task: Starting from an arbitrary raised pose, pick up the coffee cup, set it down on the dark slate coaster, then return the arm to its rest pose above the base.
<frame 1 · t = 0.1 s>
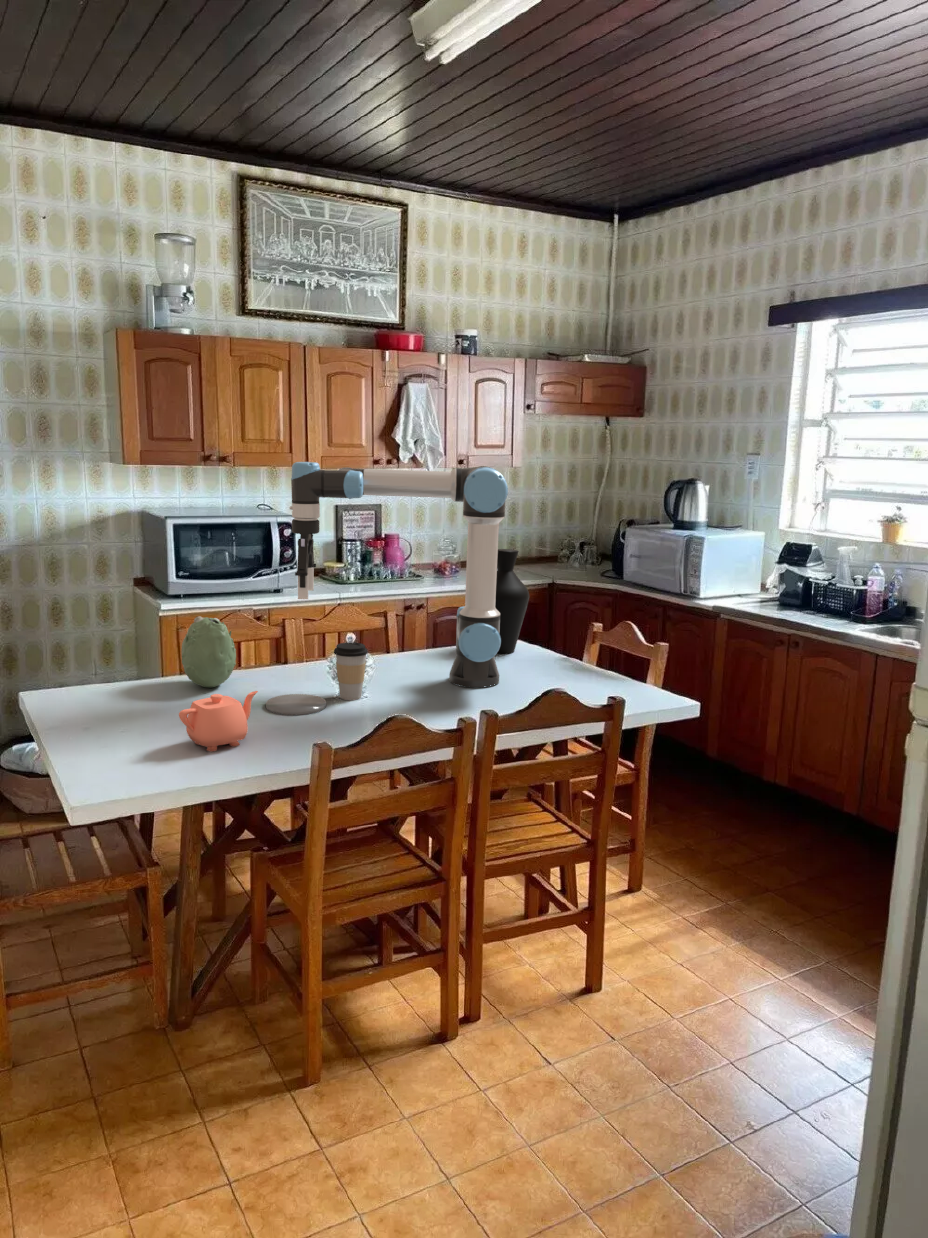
hand: (306, 594, 257), 28 cm above the table, fingers open, 13 cm apart
teapot: (220, 743, 218), on the table
green bumpy egg shape: (209, 686, 264), on the table
vase: (501, 651, 317), on the table
coffee cup: (350, 698, 258), on the table
coaster: (296, 706, 248), on the table
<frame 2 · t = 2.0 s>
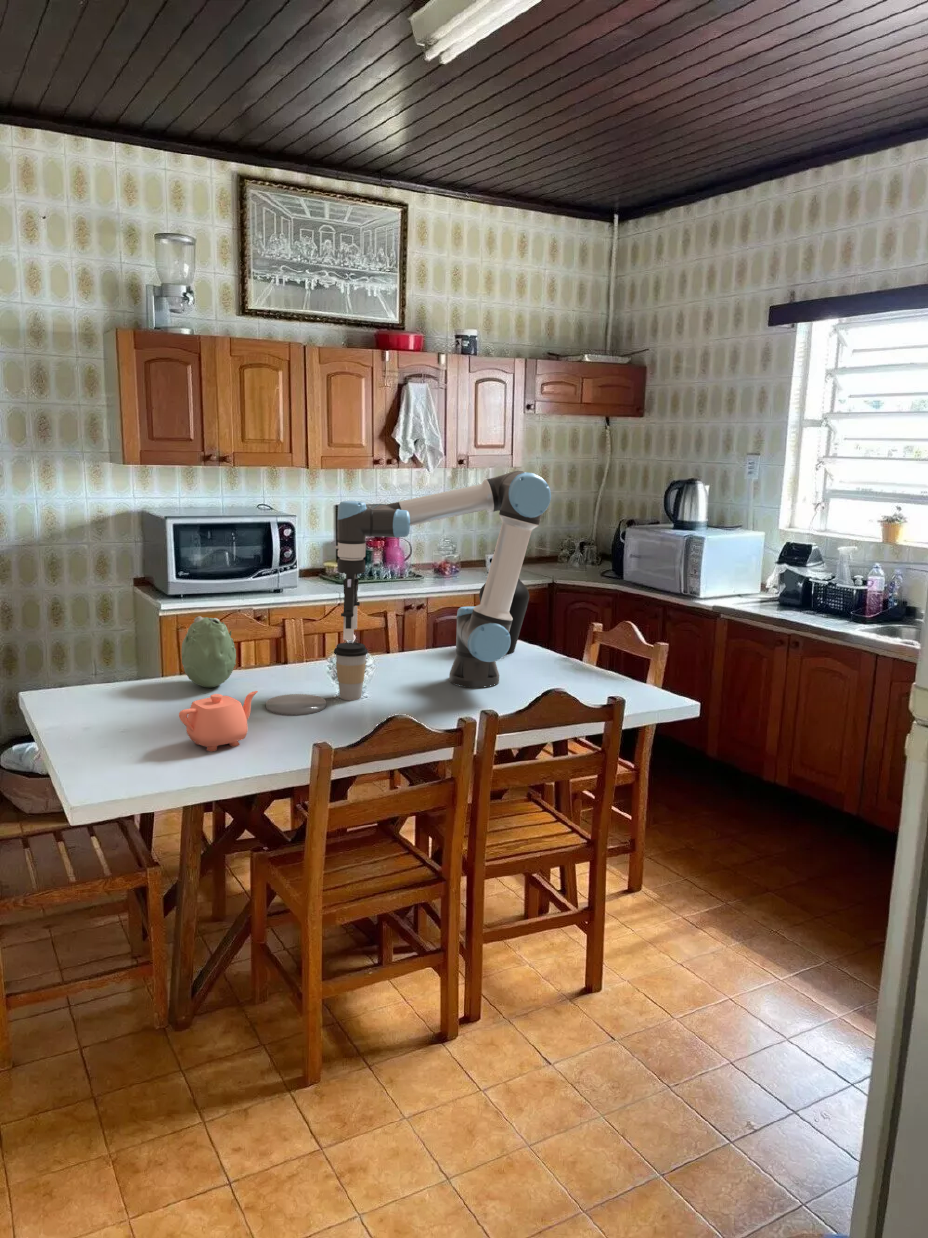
hand: (350, 634, 254), 18 cm above the table, fingers open, 13 cm apart
nothing on the table moved.
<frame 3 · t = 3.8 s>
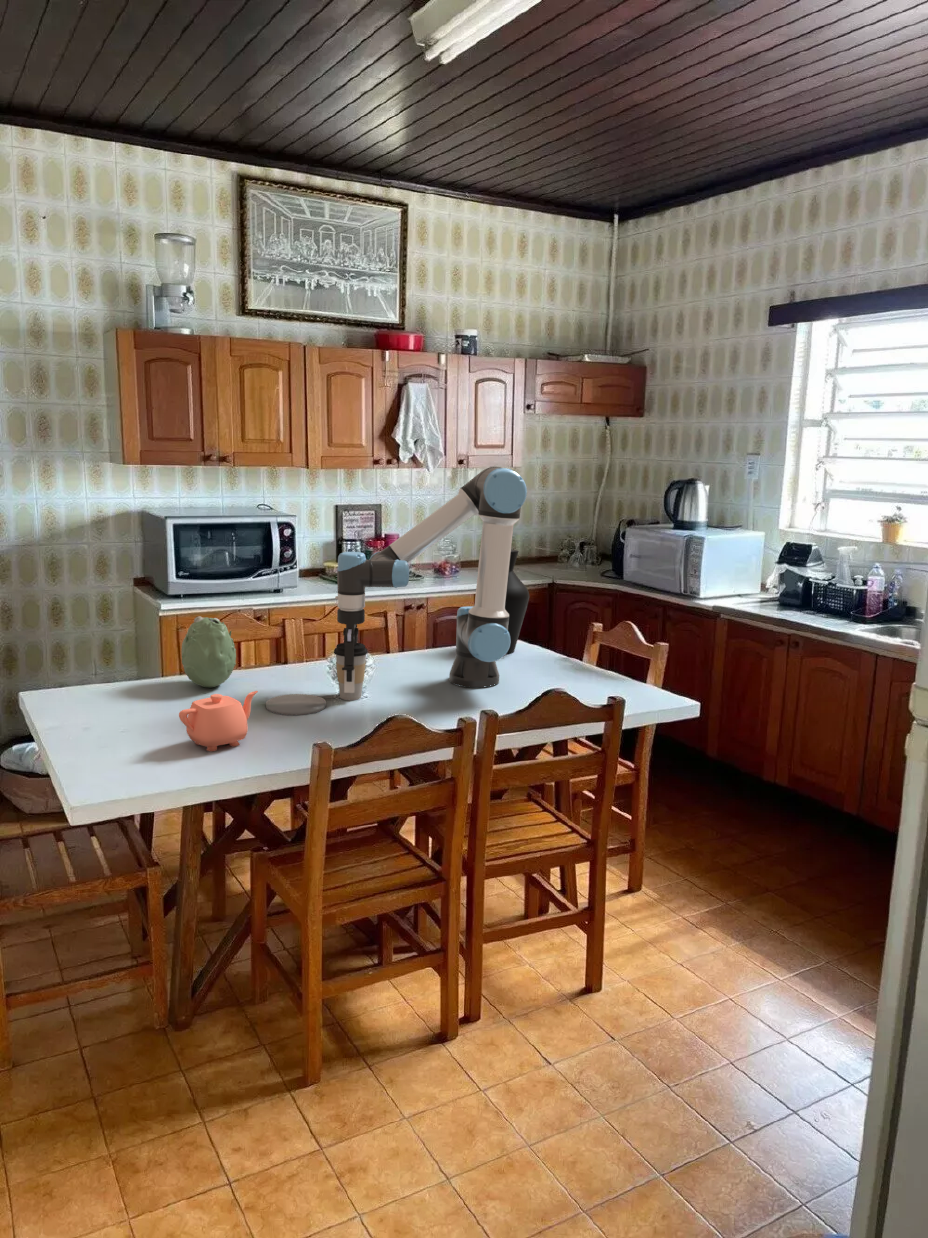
hand: (350, 687, 257), 3 cm above the table, fingers closed on coffee cup, 8 cm apart
coffee cup: (350, 698, 258), on the table, touching gripper
everything else where it was.
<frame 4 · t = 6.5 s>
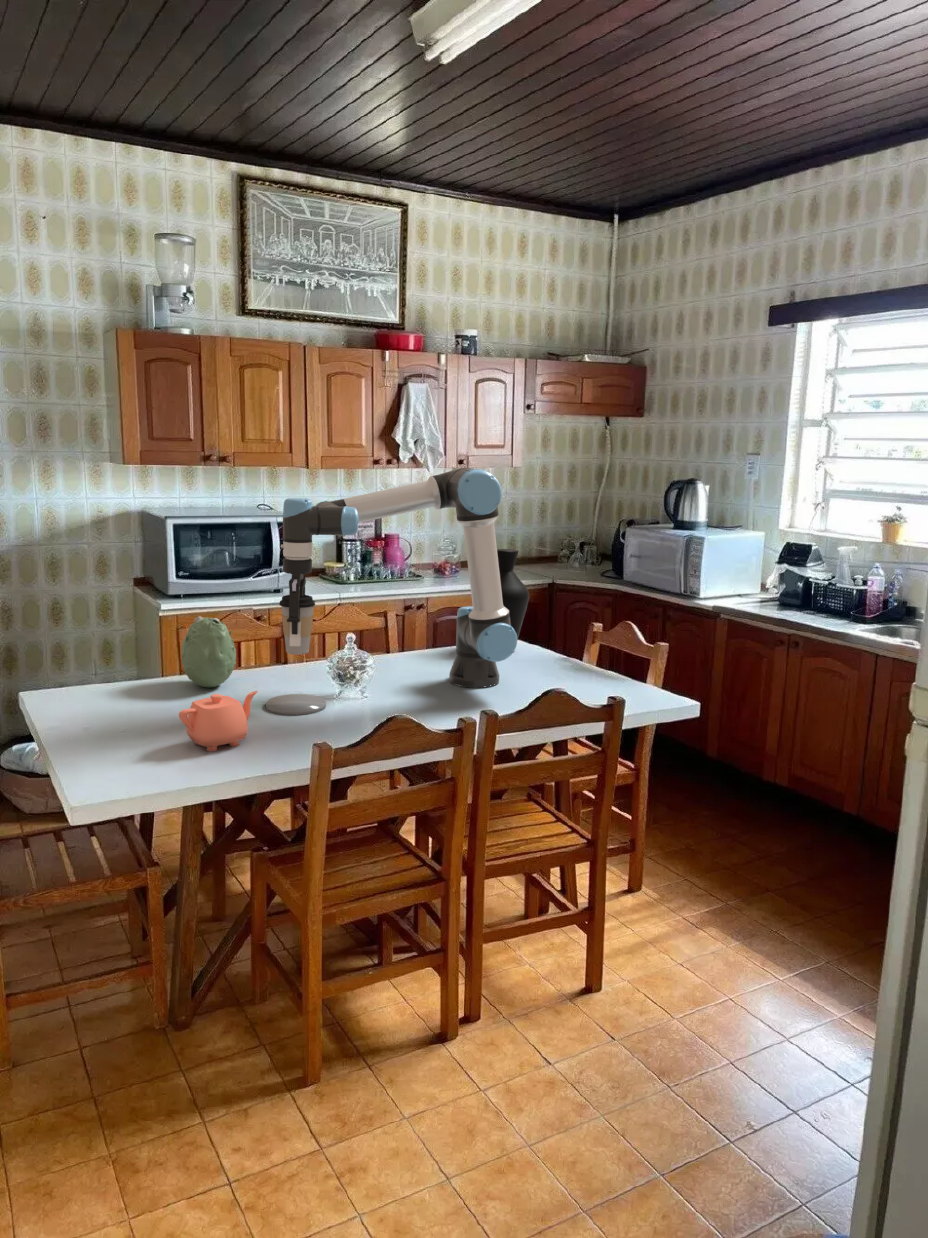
hand: (297, 641, 245), 18 cm above the table, fingers closed on coffee cup, 8 cm apart
coffee cup: (297, 652, 245), point 15 cm above the table, touching gripper
everything else where it was.
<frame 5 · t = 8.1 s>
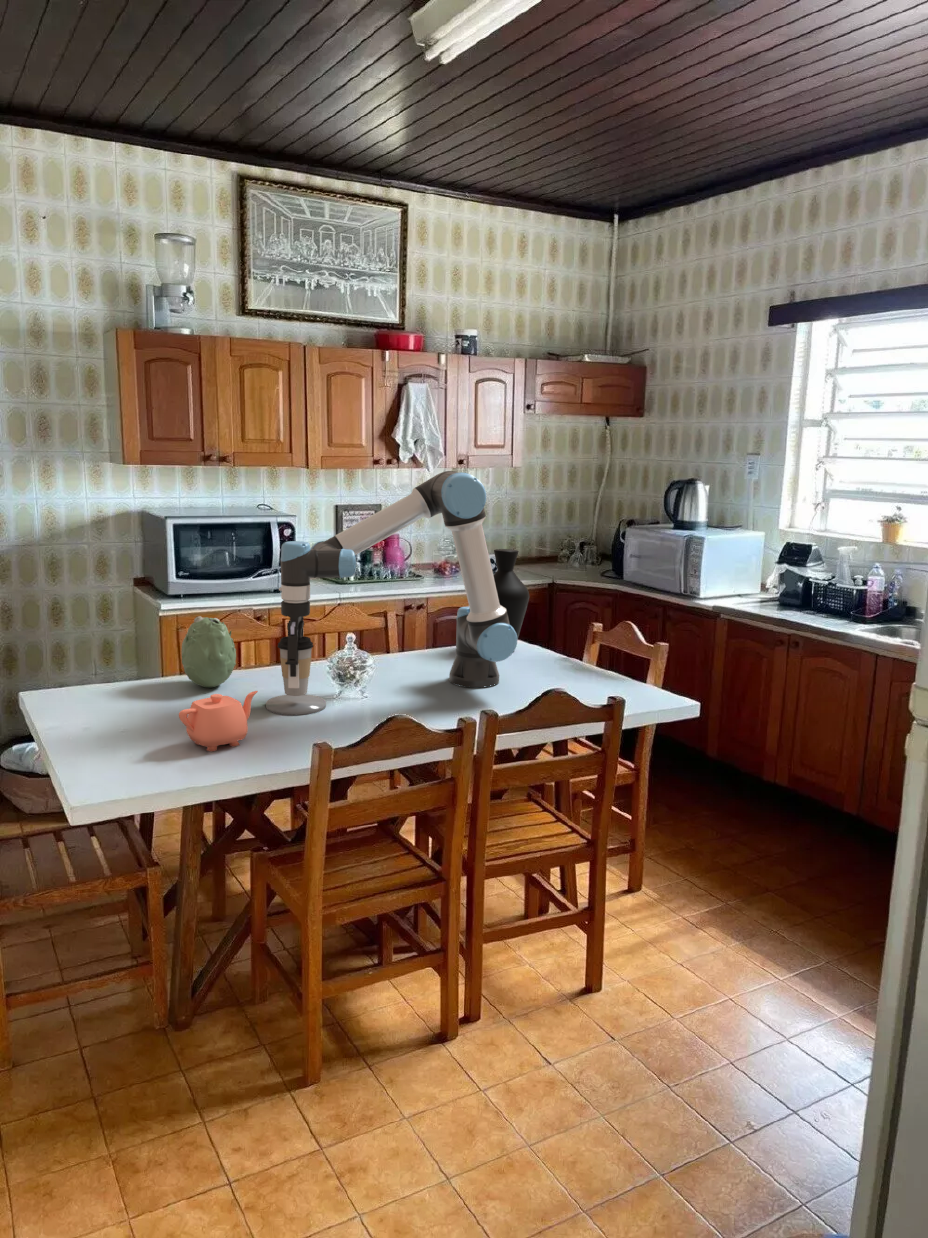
hand: (295, 683, 247), 6 cm above the table, fingers closed on coffee cup, 8 cm apart
coffee cup: (295, 693, 247), point 3 cm above the table, touching gripper
everything else where it was.
when the fingers open (4 cm above the table, at t = 9.0 s): coffee cup stays where it is, resting on coaster.
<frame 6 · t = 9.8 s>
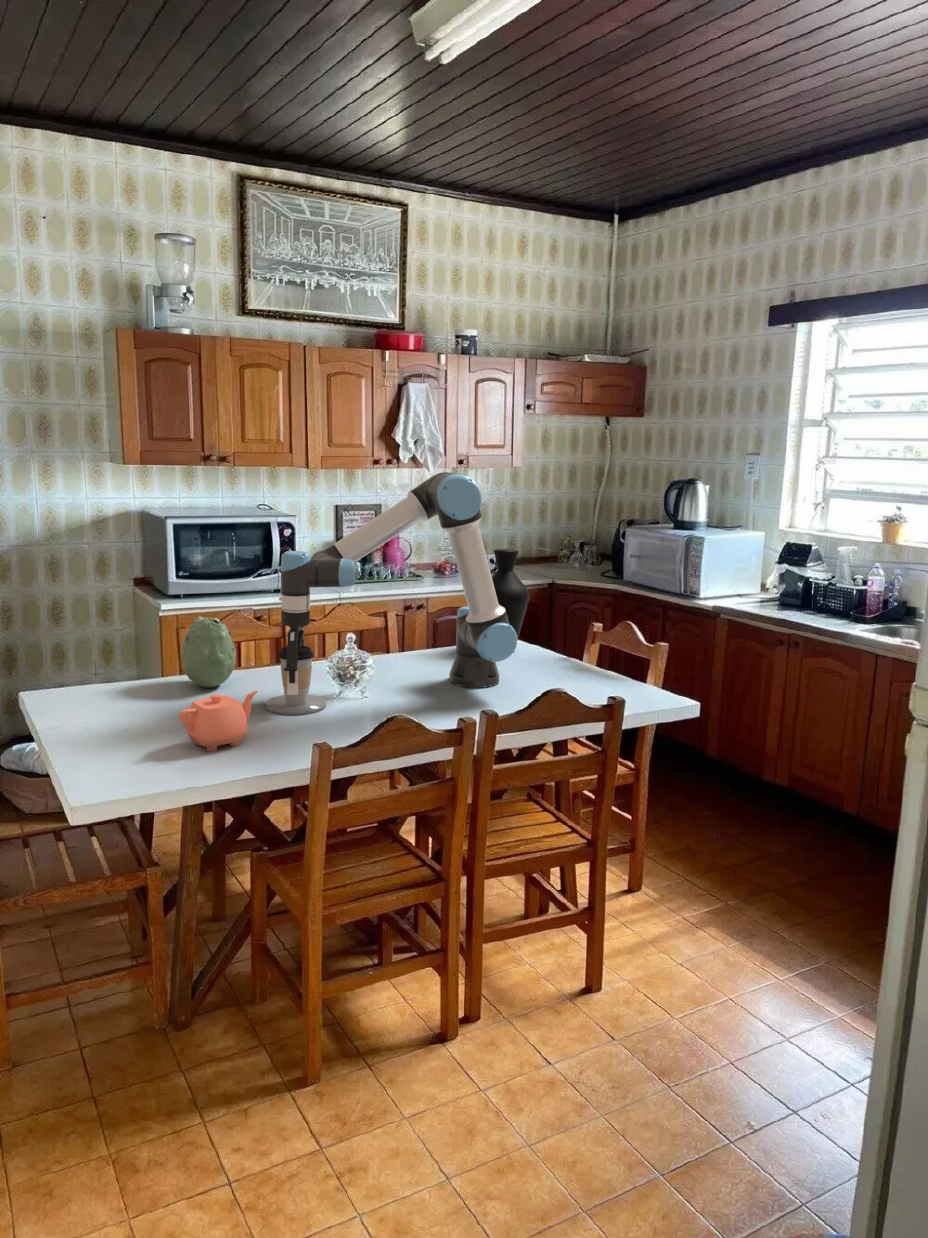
hand: (296, 687, 247), 5 cm above the table, fingers open, 13 cm apart
coffee cup: (296, 703, 248), point 1 cm above the table, touching coaster
everything else where it was.
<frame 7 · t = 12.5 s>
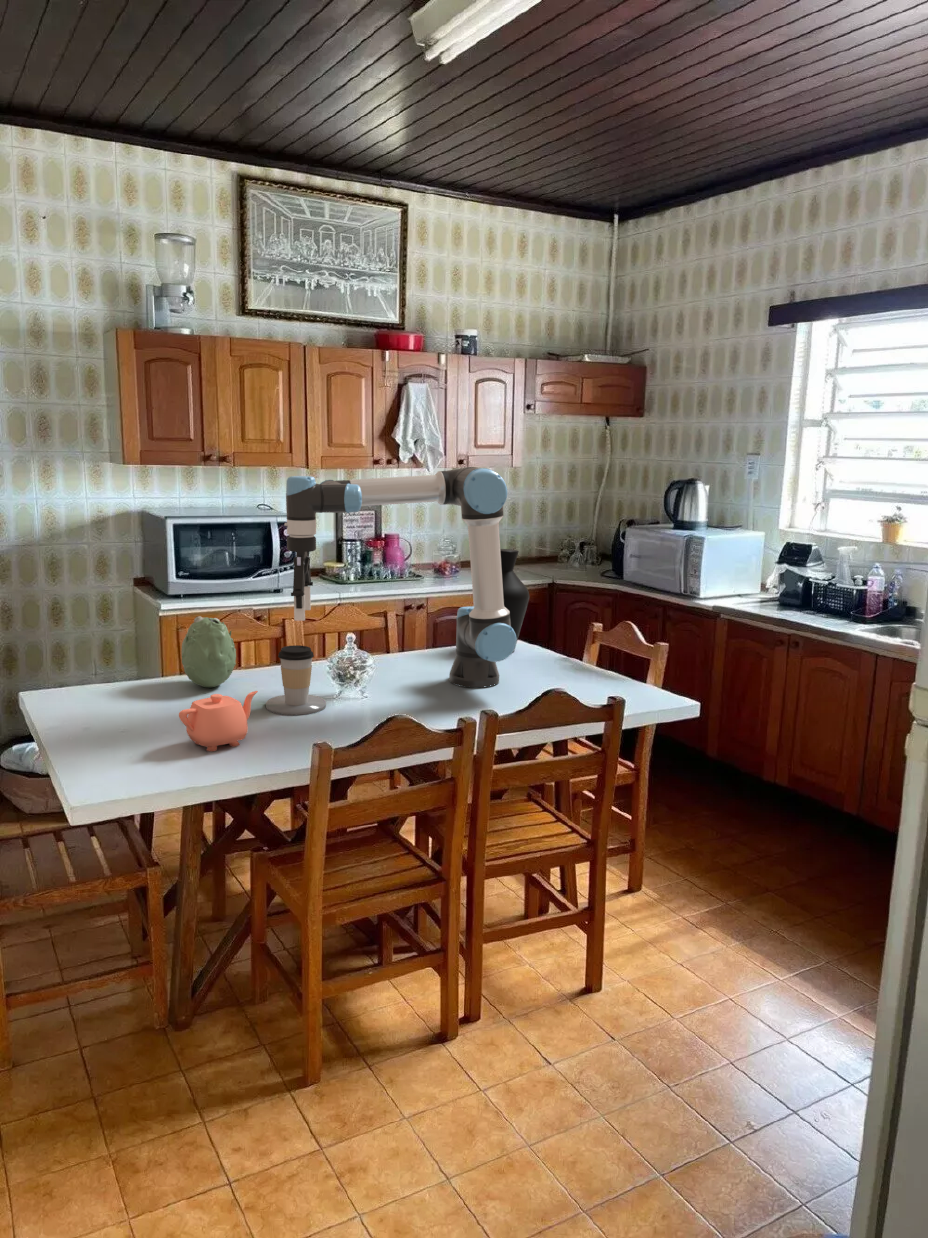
hand: (302, 615, 245), 25 cm above the table, fingers open, 13 cm apart
nothing on the table moved.
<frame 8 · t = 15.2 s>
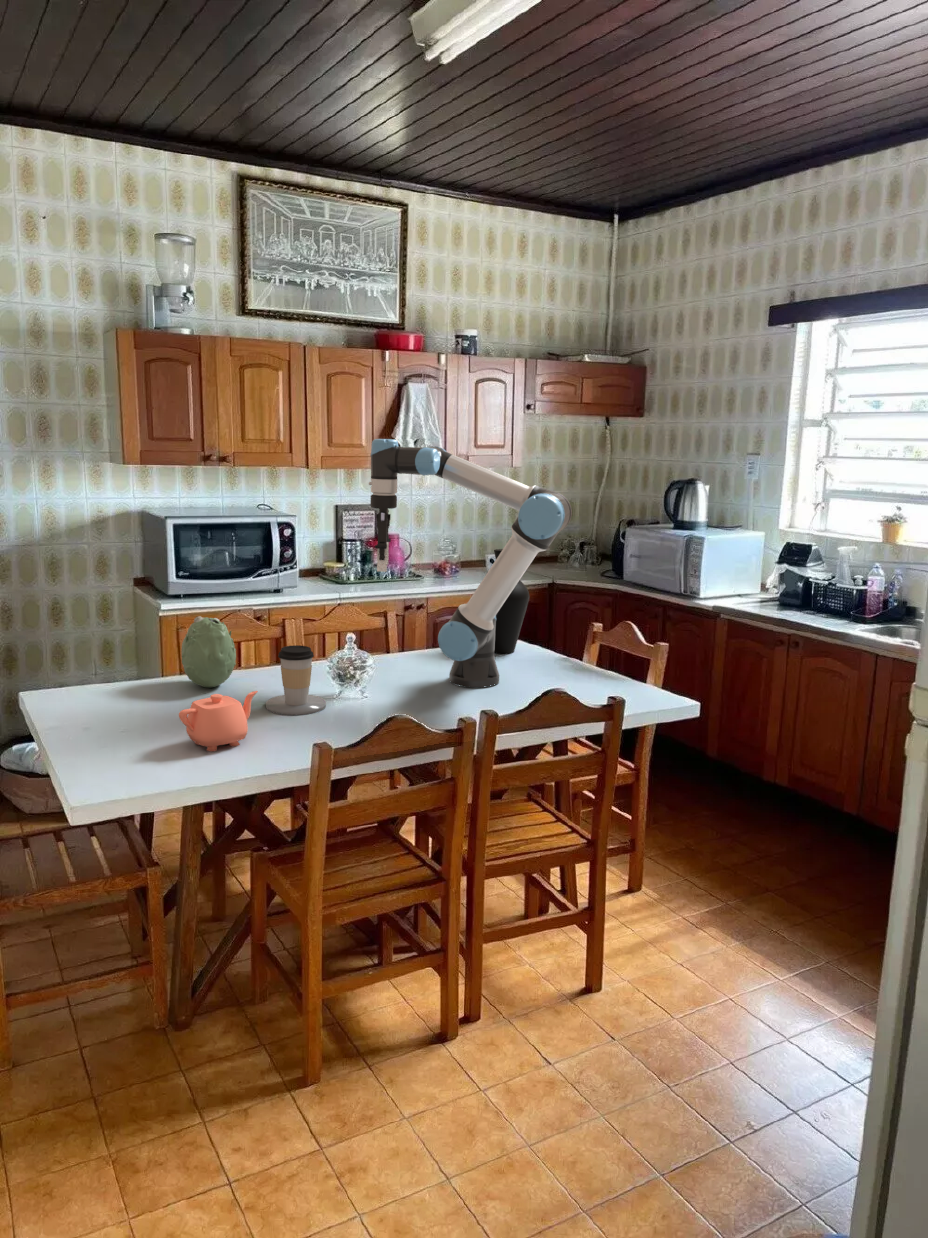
hand: (382, 567, 266), 35 cm above the table, fingers open, 13 cm apart
nothing on the table moved.
at the end: coffee cup 0.1 cm from the coaster (horizontally); coffee cup tilted 0°; the gripper is holding nothing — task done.
